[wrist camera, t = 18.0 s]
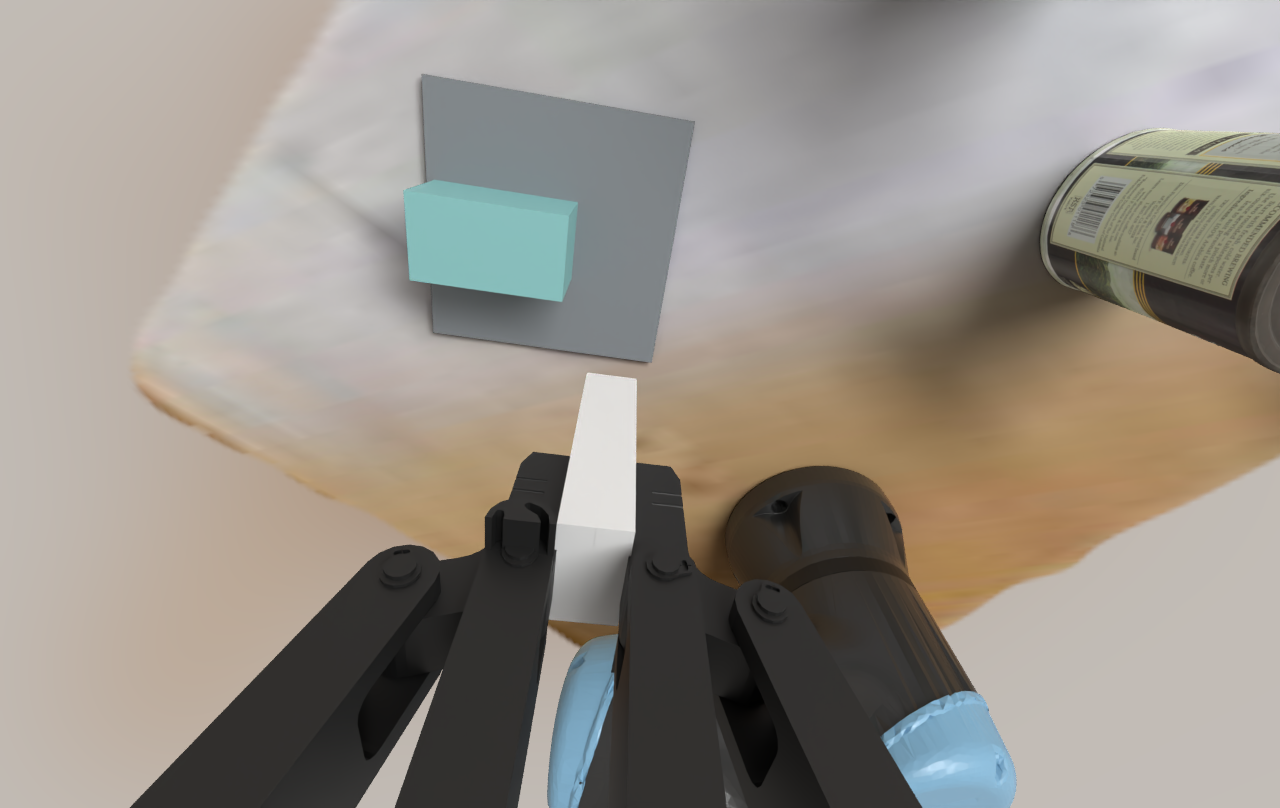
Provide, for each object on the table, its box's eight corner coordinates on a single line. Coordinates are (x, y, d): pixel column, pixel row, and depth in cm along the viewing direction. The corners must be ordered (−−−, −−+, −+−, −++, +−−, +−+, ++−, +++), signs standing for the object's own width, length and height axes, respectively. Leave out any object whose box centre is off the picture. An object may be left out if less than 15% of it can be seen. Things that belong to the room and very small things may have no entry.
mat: (651, 359, 39) (651, 362, 39) (436, 329, 38) (433, 332, 38) (693, 121, 32) (694, 121, 31) (425, 74, 30) (421, 73, 30)
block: (562, 302, 31) (406, 279, 31) (571, 278, 36) (434, 258, 35) (568, 215, 29) (399, 189, 28) (577, 202, 33) (431, 179, 33)
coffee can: (1188, 269, 36) (1470, 350, 24) (1031, 305, 37) (1222, 401, 25) (1230, 103, 31) (1613, 99, 19) (1047, 152, 33) (1295, 177, 20)
